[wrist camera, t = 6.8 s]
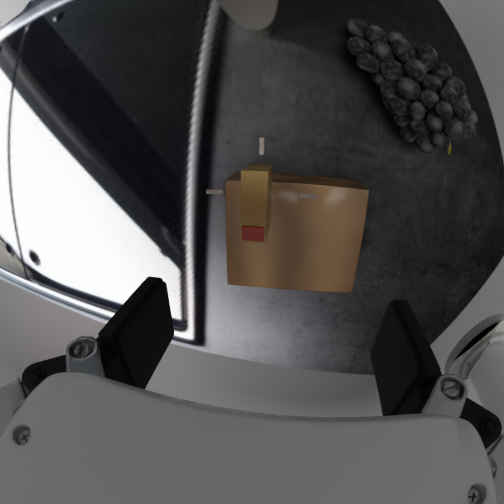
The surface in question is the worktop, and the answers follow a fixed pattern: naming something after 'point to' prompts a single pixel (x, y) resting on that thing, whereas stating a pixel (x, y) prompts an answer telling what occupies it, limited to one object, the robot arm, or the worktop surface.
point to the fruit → (414, 87)
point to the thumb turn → (255, 202)
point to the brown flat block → (299, 234)
